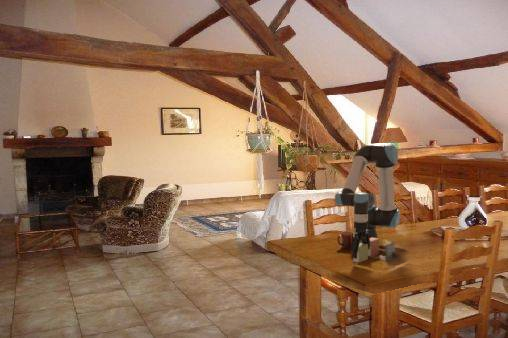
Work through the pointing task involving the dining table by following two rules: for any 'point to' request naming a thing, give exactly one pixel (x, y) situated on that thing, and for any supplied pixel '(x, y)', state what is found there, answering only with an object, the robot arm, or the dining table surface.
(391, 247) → the bookend
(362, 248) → the olive book
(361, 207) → the robot arm
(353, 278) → the dining table surface
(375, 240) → the rust book
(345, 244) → the mug
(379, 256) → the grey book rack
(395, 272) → the dining table surface
